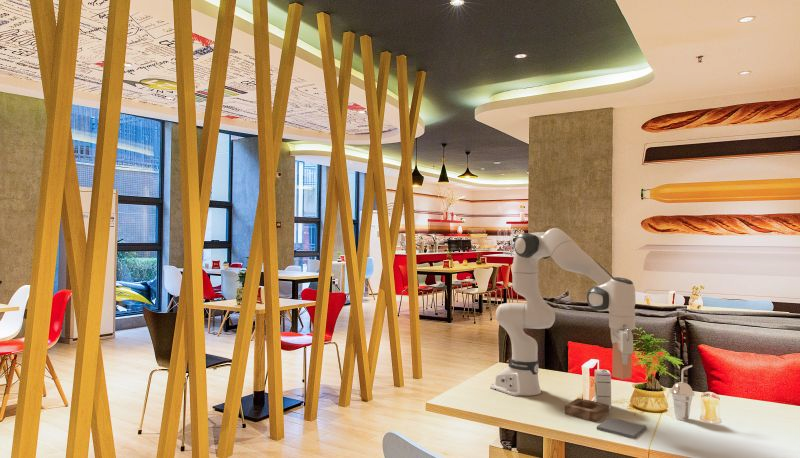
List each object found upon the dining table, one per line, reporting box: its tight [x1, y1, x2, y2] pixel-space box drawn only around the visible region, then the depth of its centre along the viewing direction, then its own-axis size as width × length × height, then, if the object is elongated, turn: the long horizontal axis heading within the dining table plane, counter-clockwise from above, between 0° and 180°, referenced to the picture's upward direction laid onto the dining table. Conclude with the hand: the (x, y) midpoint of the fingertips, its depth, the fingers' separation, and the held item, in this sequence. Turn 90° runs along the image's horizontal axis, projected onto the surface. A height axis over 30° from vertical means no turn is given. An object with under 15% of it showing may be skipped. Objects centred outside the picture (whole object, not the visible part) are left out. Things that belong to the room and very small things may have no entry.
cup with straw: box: [669, 364, 696, 422], centre depth 210 cm, size 8×9×20 cm
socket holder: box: [564, 397, 610, 423], centre depth 215 cm, size 12×12×4 cm
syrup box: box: [594, 369, 612, 410], centre depth 223 cm, size 6×6×14 cm
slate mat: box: [596, 417, 647, 440], centre depth 199 cm, size 13×13×1 cm
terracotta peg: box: [611, 343, 632, 380], centre depth 198 cm, size 4×4×12 cm
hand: (621, 361), depth 198 cm, fingers closed on terracotta peg, 6 cm apart
